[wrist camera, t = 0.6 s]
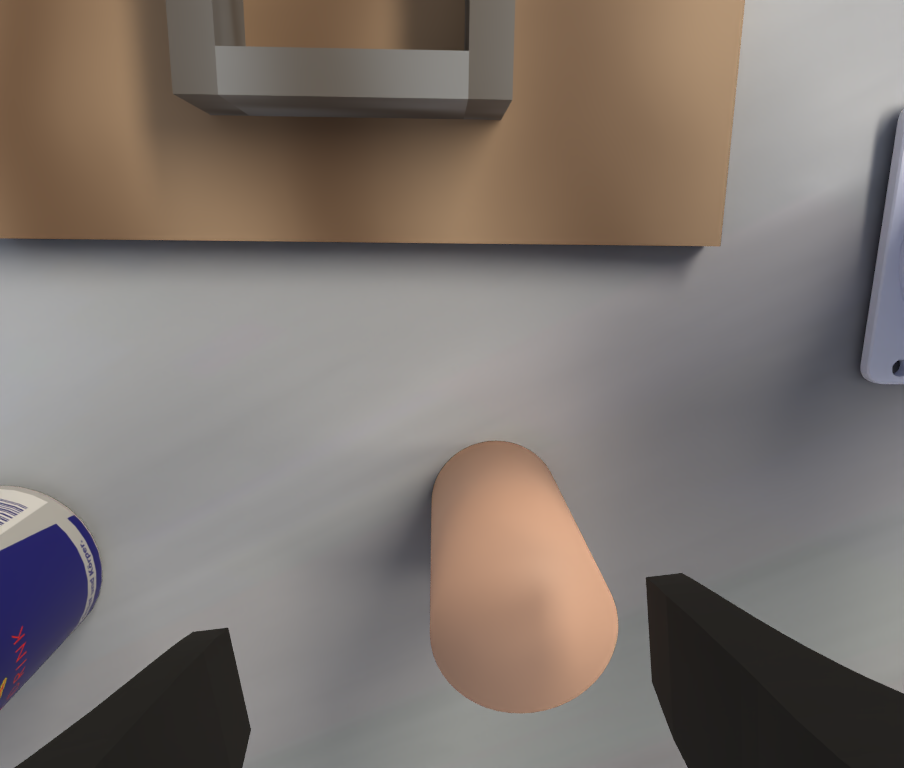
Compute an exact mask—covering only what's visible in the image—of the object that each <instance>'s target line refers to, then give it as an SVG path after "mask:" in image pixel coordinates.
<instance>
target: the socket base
mask: <svg viewBox="0 0 904 768" xmlns="http://www.w3.org/2000/svg"><path fill="white" fill-rule="evenodd" d="M744 5H745V0H0V238H20V239H110V240H200V241H290V242H380V243H470V244H560V245H650V246H720V245H721V235H722V225H723V215H724V205H725V195H726V185H727V175H728V165H729V155H730V145H731V135H732V125H733V115H734V105H735V95H736V85H737V75H738V65H739V55H740V45H741V35H742V25H743V15H744Z"/></svg>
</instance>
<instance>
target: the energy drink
mask: <svg viewBox="0 0 904 768" xmlns="http://www.w3.org/2000/svg"><path fill="white" fill-rule="evenodd" d="M101 584H102V563H101V558H100V554H99V550H98V547H97V545H96V543H95V541H94V538H93V536H92V534H91V533H90V531H89V530H88V529H87V527H86V526H85V524H84V523H83V522H82V520H81V519H79V518H78V517H77V516H76V515H75V514H74V513H73V512H72V511H71V510H70V509H69V508H67V507H66V506H65V505H63V504H62V503H60V502H59V501H57V500H56V499H54V498H52V497H49V496H47V495H45V494H43V493H41V492H38V491H34V490H30V489H27V488H23V487H16V486H5V485H1V486H0V710H1V709H2V707H3V706H4V705H5V704H6V703H7V702H8V701H9V700H10V699H11V698H12V697H13V696H14V695H15V693H16V692H17V691H18V690H19V689H20V688H21V687H22V686H23V685H24V684H25V683H26V682H27V680H28V679H29V678H30V677H31V676H32V675H33V674H34V673H35V672H36V671H37V670H38V669H39V667H40V666H41V665H42V664H43V663H44V662H45V661H46V660H47V659H48V658H49V657H50V656H51V655H52V653H53V652H54V651H55V650H56V649H57V648H58V647H59V646H60V645H61V644H62V643H63V642H64V640H65V639H66V638H67V637H68V636H69V635H70V634H71V633H72V632H73V631H74V630H75V629H76V627H77V626H78V625H79V624H80V623H81V622H82V621H83V620H84V619H85V617H86V616H87V615H88V614H89V612H90V611H91V610H92V609H93V607H94V605H95V602H96V600H97V598H98V596H99V593H100V588H101Z"/></svg>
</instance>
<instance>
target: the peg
mask: <svg viewBox="0 0 904 768" xmlns="http://www.w3.org/2000/svg"><path fill="white" fill-rule="evenodd" d="M617 635H618V616H617V609H616V606H615V603H614V599H613V597H612V595H611V593H610V591H609V589H608V587H607V585H606V583H605V581H604V579H603V577H602V575H601V573H600V571H599V569H598V567H597V565H596V563H595V561H594V559H593V557H592V555H591V553H590V551H589V549H588V547H587V545H586V543H585V541H584V539H583V537H582V535H581V532H580V530H579V528H578V526H577V524H576V522H575V520H574V518H573V516H572V514H571V512H570V510H569V508H568V506H567V504H566V502H565V500H564V498H563V496H562V494H561V492H560V490H559V488H558V486H557V484H556V482H555V480H554V478H553V476H552V474H551V472H550V471H549V469H548V468H547V466H546V465H545V463H544V462H543V461H542V460H541V459H540V458H539V457H538V456H537V455H536V454H534V453H533V452H531V451H530V450H528V449H526V448H524V447H522V446H520V445H517V444H514V443H510V442H505V441H487V442H482V443H478V444H474V445H471V446H469V447H467V448H465V449H463V450H461V451H460V452H458V453H457V454H455V455H454V456H453V457H452V458H451V459H450V460H449V461H448V462H447V463H446V464H445V465H444V467H443V468H442V469H441V471H440V472H439V474H438V476H437V478H436V481H435V484H434V487H433V491H432V505H431V587H430V640H431V647H432V651H433V655H434V658H435V660H436V663H437V665H438V667H439V669H440V671H441V672H442V674H443V675H444V677H445V678H446V679H447V681H448V682H449V683H450V684H451V685H452V686H453V687H454V688H455V689H456V690H457V691H458V692H459V693H461V694H462V695H463V696H465V697H466V698H468V699H469V700H471V701H473V702H475V703H477V704H479V705H481V706H484V707H486V708H489V709H493V710H496V711H501V712H508V713H533V712H539V711H544V710H548V709H551V708H555V707H557V706H560V705H562V704H564V703H567V702H569V701H570V700H572V699H574V698H576V697H577V696H579V695H580V694H581V693H583V692H584V691H585V690H587V689H588V688H589V687H590V686H591V685H592V684H593V683H594V682H595V681H596V680H597V679H598V678H599V676H600V675H601V674H602V673H603V671H604V670H605V668H606V666H607V665H608V663H609V661H610V659H611V657H612V654H613V652H614V649H615V645H616V642H617Z"/></svg>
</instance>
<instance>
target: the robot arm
mask: <svg viewBox="0 0 904 768" xmlns="http://www.w3.org/2000/svg"><path fill="white" fill-rule="evenodd" d="M898 360H899V361H900V367H899V370H898V371H897V372H895V373H892V367H893V365H894V363H895V362H897V361H898ZM860 367H861V373H862V375H863V377H864V378H865V379H867V380H868V381H871V382H874V383H878V384H904V109H903V110H902V111H901V113H900V115H899V118H898V123H897V130H896V136H895V143H894V149H893V156H892V162H891V169H890V175H889V182H888V189H887V195H886V202H885V208H884V215H883V221H882V228H881V234H880V241H879V248H878V254H877V261H876V267H875V274H874V280H873V287H872V293H871V300H870V307H869V313H868V320H867V326H866V333H865V339H864V346H863V352H862V359H861V365H860ZM646 587H647V604H648V621H649V638H650V655H651V673H652V683H653V686H654V688H655V691H656V694H657V697H658V699H659V702H660V705H661V708H662V710H663V713H664V716H665V718H666V721H667V723H668V726H669V729H670V731H671V734H672V736H673V739H674V741H675V743H676V745H677V747H678V749H679V751H680V753H681V755H682V757H683V759H684V761H685V763H686V765H687V767H688V768H904V694H903V693H901V692H899V691H896V690H894V689H892V688H889V687H887V686H885V685H883V684H880V683H878V682H876V681H874V680H871V679H869V678H867V677H865V676H863V675H861V674H859V673H856V672H854V671H852V670H850V669H848V668H846V667H844V666H842V665H840V664H838V663H836V662H834V661H832V660H831V659H829V658H827V657H825V656H823V655H821V654H819V653H817V652H815V651H813V650H811V649H810V648H808V647H806V646H804V645H802V644H800V643H798V642H797V641H795V640H793V639H791V638H789V637H788V636H786V635H784V634H782V633H781V632H779V631H777V630H775V629H774V628H772V627H770V626H769V625H767V624H765V623H763V622H762V621H760V620H758V619H757V618H755V617H753V616H752V615H750V614H748V613H747V612H745V611H744V610H742V609H740V608H739V607H737V606H735V605H734V604H732V603H731V602H729V601H727V600H726V599H724V598H722V597H721V596H719V595H718V594H716V593H714V592H713V591H711V590H710V589H708V588H706V587H705V586H703V585H701V584H700V583H698V582H697V581H695V580H693V579H691V578H690V577H688V576H686V575H684V574H682V573H678V574H670V575H662V576H654V577H646ZM250 731H251V728H250V724H249V719H248V715H247V710H246V706H245V701H244V697H243V692H242V688H241V683H240V679H239V674H238V670H237V665H236V661H235V656H234V652H233V647H232V643H231V639H230V634H229V630H228V628H222V629H214V630H206V631H197V632H192V633H191V634H189V635H188V636H186V637H185V638H183V639H182V640H181V641H179V642H178V643H176V644H175V645H174V646H172V647H171V648H170V649H169V650H167V651H166V652H165V653H163V654H162V655H161V656H160V657H158V658H157V659H156V660H155V661H153V662H152V663H151V664H150V665H148V666H147V667H146V668H145V669H143V670H142V671H141V672H140V673H138V674H137V675H136V676H135V677H133V678H132V679H131V680H130V681H128V682H127V683H126V684H125V685H123V686H122V687H121V688H120V689H118V690H117V691H116V692H115V693H113V694H112V695H111V696H110V697H108V698H107V699H106V700H105V701H103V702H102V703H101V704H99V705H98V706H97V707H96V708H94V709H93V710H92V711H91V712H89V713H88V714H87V715H85V716H84V717H83V718H81V719H80V720H79V721H77V722H76V723H75V724H73V725H72V726H71V727H69V728H68V729H67V730H65V731H64V732H63V733H61V734H60V735H58V736H57V737H56V738H54V739H53V740H52V741H50V742H49V743H48V744H46V745H45V746H44V747H42V748H41V749H40V750H38V751H37V752H36V753H34V754H33V755H32V756H30V757H29V758H28V759H26V760H25V761H23V762H22V763H20V764H19V765H18V766H16V767H15V768H242V766H243V762H244V758H245V753H246V749H247V744H248V740H249V735H250Z"/></svg>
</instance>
